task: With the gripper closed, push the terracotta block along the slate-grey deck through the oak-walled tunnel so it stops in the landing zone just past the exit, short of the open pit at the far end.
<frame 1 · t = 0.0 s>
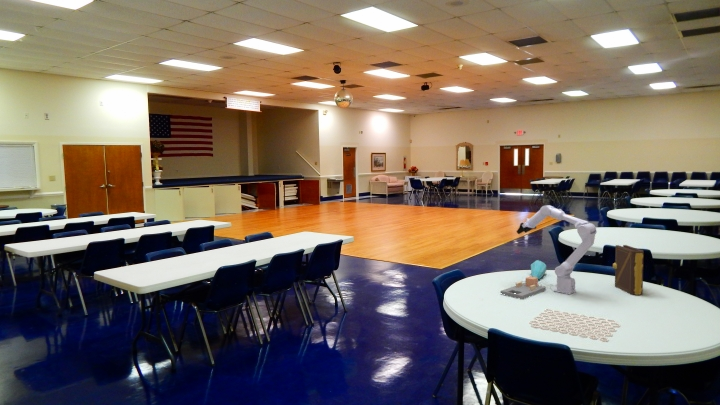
hand: (521, 232, 291), 32 cm above the table, tool tilted 50°, fingers open, 7 cm apart
crystal: (537, 277, 306), on the table
honeycomb grid: (573, 325, 219), on the table
block: (531, 286, 278), point 2 cm above the table, touching deck
deck: (523, 292, 272), on the table
book: (627, 290, 271), on the table
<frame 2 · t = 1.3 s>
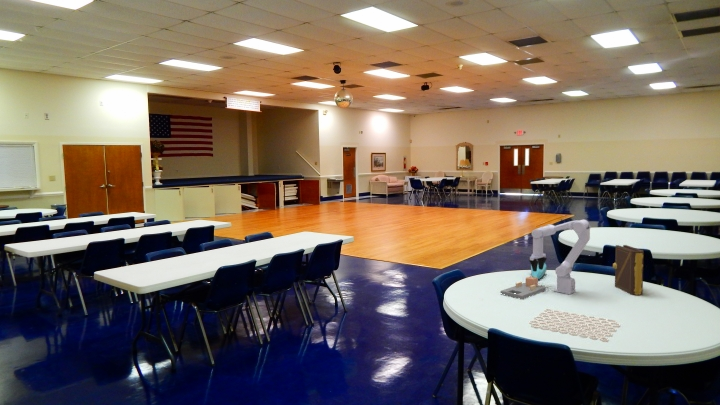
hand: (537, 270, 282), 10 cm above the table, tool pointing down, fingers open, 6 cm apart
nothing on the table moved.
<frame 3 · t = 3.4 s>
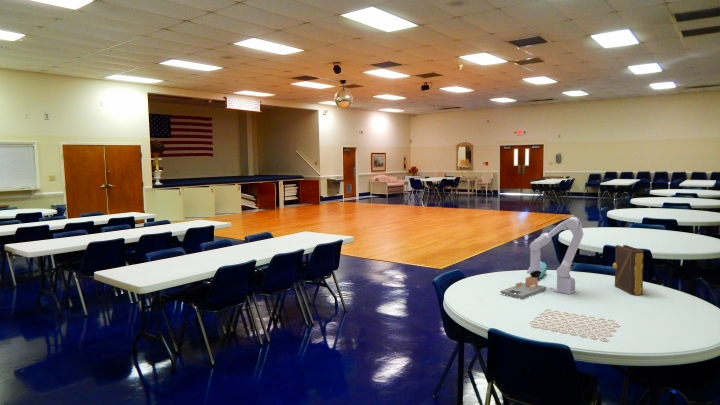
hand: (535, 283, 280), 3 cm above the table, tool pointing down, fingers closed
block: (531, 286, 278), point 2 cm above the table, touching gripper
everything else where it was.
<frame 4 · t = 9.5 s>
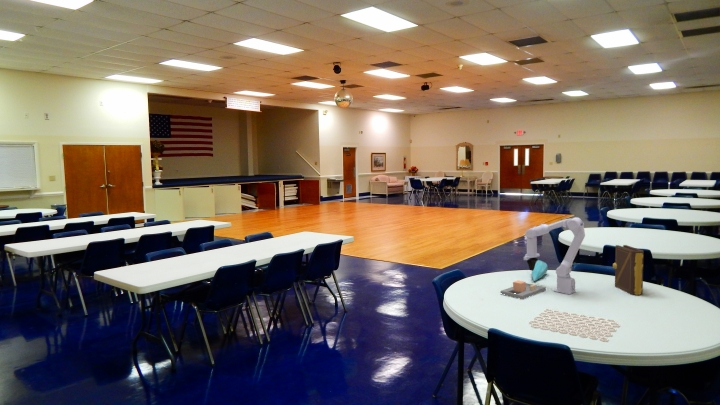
hand: (531, 270, 283), 10 cm above the table, tool pointing down, fingers closed
block: (519, 290, 270), point 2 cm above the table, touching deck
everything else where it was.
at the end: block 0.0 cm from the target spot on the deck, point 2.0 cm above the deck's base; block tilted 0° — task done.
